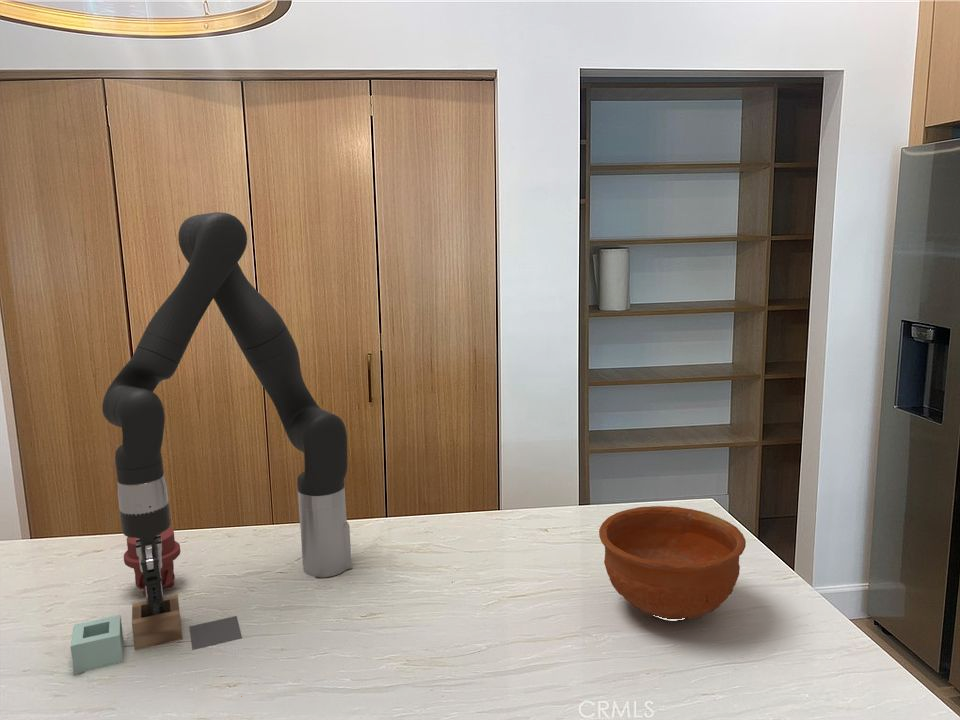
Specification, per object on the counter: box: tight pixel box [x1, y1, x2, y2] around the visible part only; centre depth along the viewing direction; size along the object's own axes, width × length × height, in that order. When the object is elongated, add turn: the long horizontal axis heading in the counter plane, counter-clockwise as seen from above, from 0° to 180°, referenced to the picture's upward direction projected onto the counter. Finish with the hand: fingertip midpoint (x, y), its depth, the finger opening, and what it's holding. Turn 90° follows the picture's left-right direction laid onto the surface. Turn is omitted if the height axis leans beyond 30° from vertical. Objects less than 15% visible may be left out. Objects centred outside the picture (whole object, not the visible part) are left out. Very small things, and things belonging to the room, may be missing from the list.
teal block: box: [69, 614, 125, 675], centre depth 122 cm, size 7×7×5 cm
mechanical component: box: [123, 527, 182, 597], centre depth 144 cm, size 12×10×10 cm
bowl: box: [598, 505, 747, 620], centre depth 132 cm, size 25×25×15 cm
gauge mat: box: [188, 615, 243, 651], centre depth 129 cm, size 8×8×1 cm
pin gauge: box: [145, 555, 165, 616], centre depth 127 cm, size 3×3×11 cm
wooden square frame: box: [131, 593, 183, 651], centre depth 128 cm, size 7×7×5 cm
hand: (155, 597), depth 127 cm, fingers closed on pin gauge, 2 cm apart
